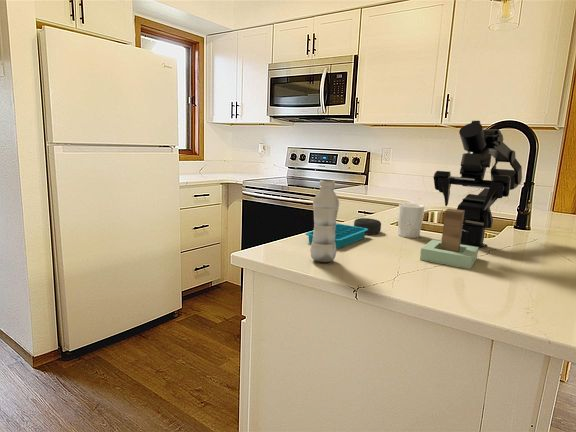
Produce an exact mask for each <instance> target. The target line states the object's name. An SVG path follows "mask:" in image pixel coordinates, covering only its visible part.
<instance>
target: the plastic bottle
mask: <svg viewBox="0 0 576 432" xmlns="http://www.w3.org/2000/svg"><path fill="white" fill-rule="evenodd" d="M318 188H319V191H318V192H317V193H316V194H315V196H314V197H313V201H312V208H313V231H314V232H313V240H312V243H310V249H309V251H310V252H309V253H310V256H311V259H312V260H314V261H315V262H319V263H330V262H333V261H334V260H335V258H336V255H337V248H336V243H335V227H336V226H335V225H336V224H337V217H338V213H339V207H340V199H339V198H338V196H337V194H336V193H335V192H336V191H335V190H334V189H336V182H335V180H334V179H320V180H319V185H318Z"/></svg>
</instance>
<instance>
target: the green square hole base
mask: <svg viewBox="0 0 576 432" xmlns="http://www.w3.org/2000/svg"><path fill="white" fill-rule="evenodd" d="M441 242H442V240H437V239H431V240H430V241H429V242H427V243H426V244H425V245H424V246H422V247H421V248H420V256H419V260H420V261H426V262H431V263H434V264H440V265H446V266H451V267H457V268H461V269H466V270H471V269H472V267H473V265H474V264H475V262H476V260H477V259H478V256H479V255H478V254H479V248H480V247H474V246H468V245H462V244H460V251H459V253H458V252H452V251H447V250H441Z"/></svg>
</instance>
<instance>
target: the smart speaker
mask: <svg viewBox="0 0 576 432" xmlns="http://www.w3.org/2000/svg"><path fill="white" fill-rule="evenodd" d="M353 226H356V227H361V228H367V229H368V231H365V235H377V234H379V233H380V232H381V230H382V223H381V221H380V220H378V219H374V218H369V217H368V218H367V217H364V218H363V217H360V218H359V217H358V218H356V219H355V220H354V221H353Z"/></svg>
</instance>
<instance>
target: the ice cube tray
mask: <svg viewBox="0 0 576 432" xmlns="http://www.w3.org/2000/svg"><path fill="white" fill-rule="evenodd" d="M335 226H336V227H335V243H336V249H340V248H343V247H345V246H347V245H350V244H353V243H355V242H357V240H358V241H361V240H362V239H364V238H365V235H366V234H365V231H368V229H367V228H361V227H356V226H354V225H349V224H342V223H336V225H335ZM313 232H314V230H310V231H307V232H305V235H306V236H308V244H309V243H310V244H312V240H313Z"/></svg>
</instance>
